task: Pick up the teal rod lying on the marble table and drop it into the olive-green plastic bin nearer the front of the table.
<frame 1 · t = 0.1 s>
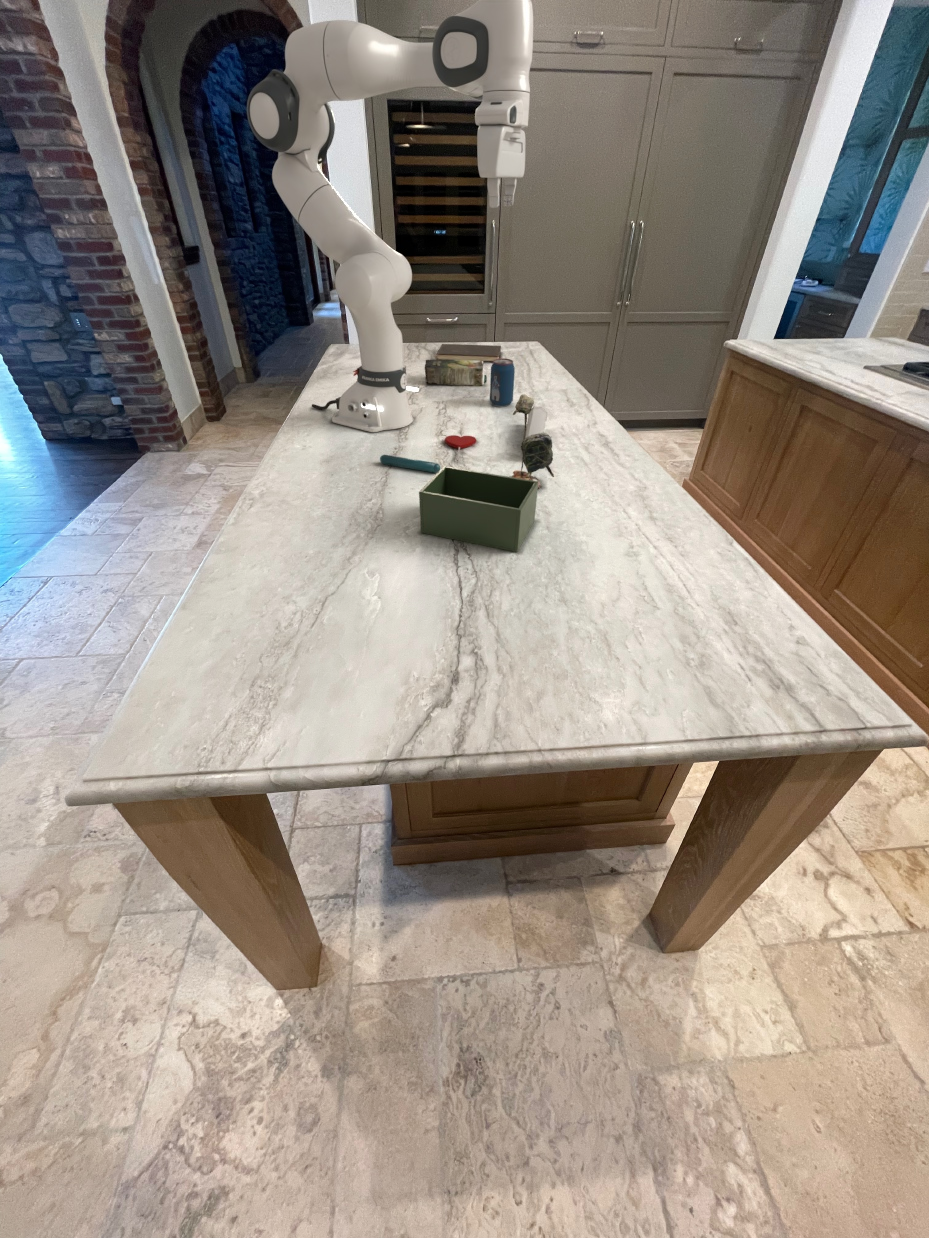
hand: (501, 207, 110), 48 cm above the table, tool pointing down, fingers open, 8 cm apart
teal rod: (410, 468, 125), on the table
hardcover book: (469, 356, 204), on the table
plant with pod: (526, 486, 119), on the table
soda can: (501, 404, 161), on the table
lollipop: (459, 450, 133), on the table
juice carton: (455, 382, 178), on the table
bin: (478, 527, 104), on the table
white square bar: (533, 443, 138), on the table
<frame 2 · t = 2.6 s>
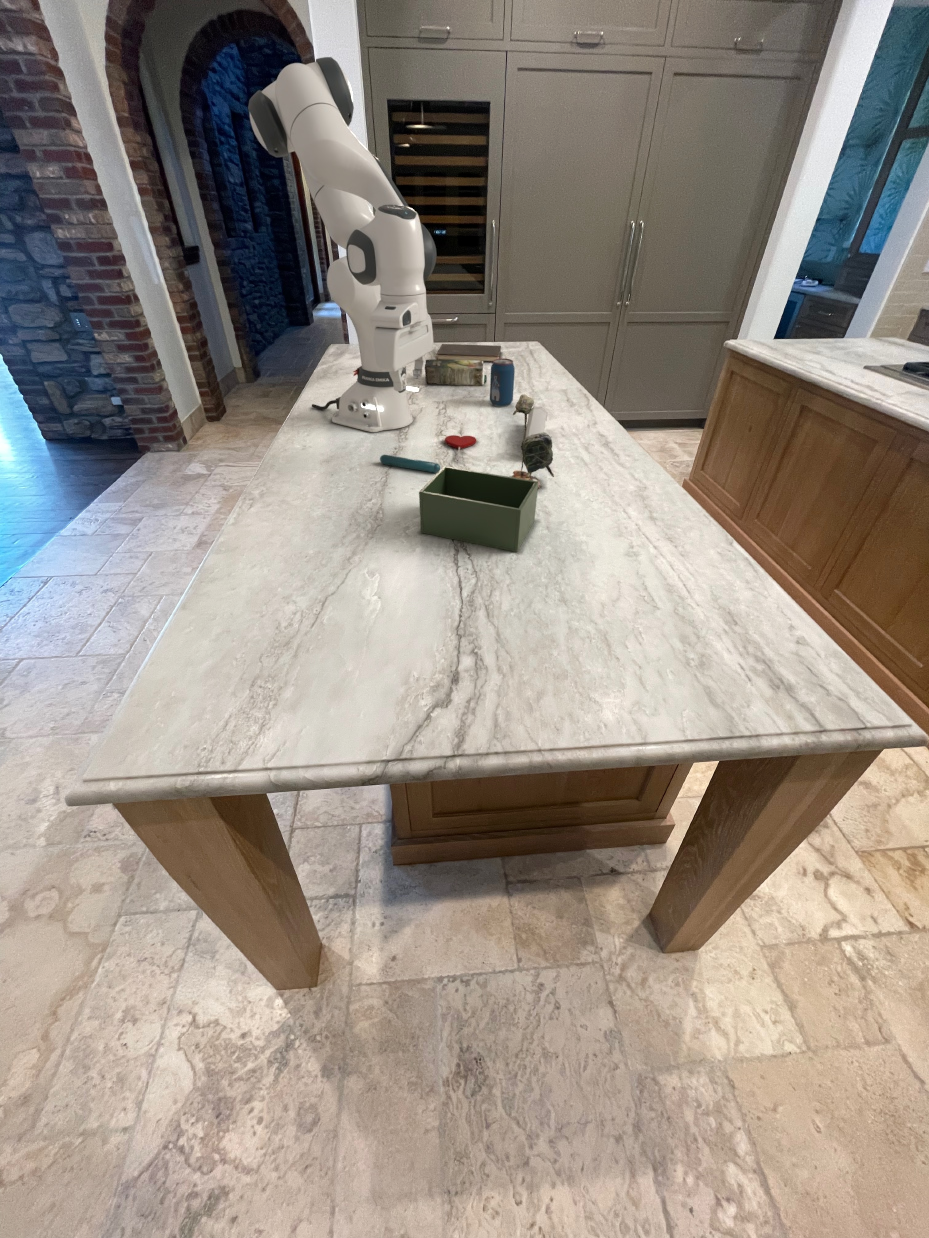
hand: (409, 384, 114), 19 cm above the table, tool pointing down, fingers open, 8 cm apart
nothing on the table moved.
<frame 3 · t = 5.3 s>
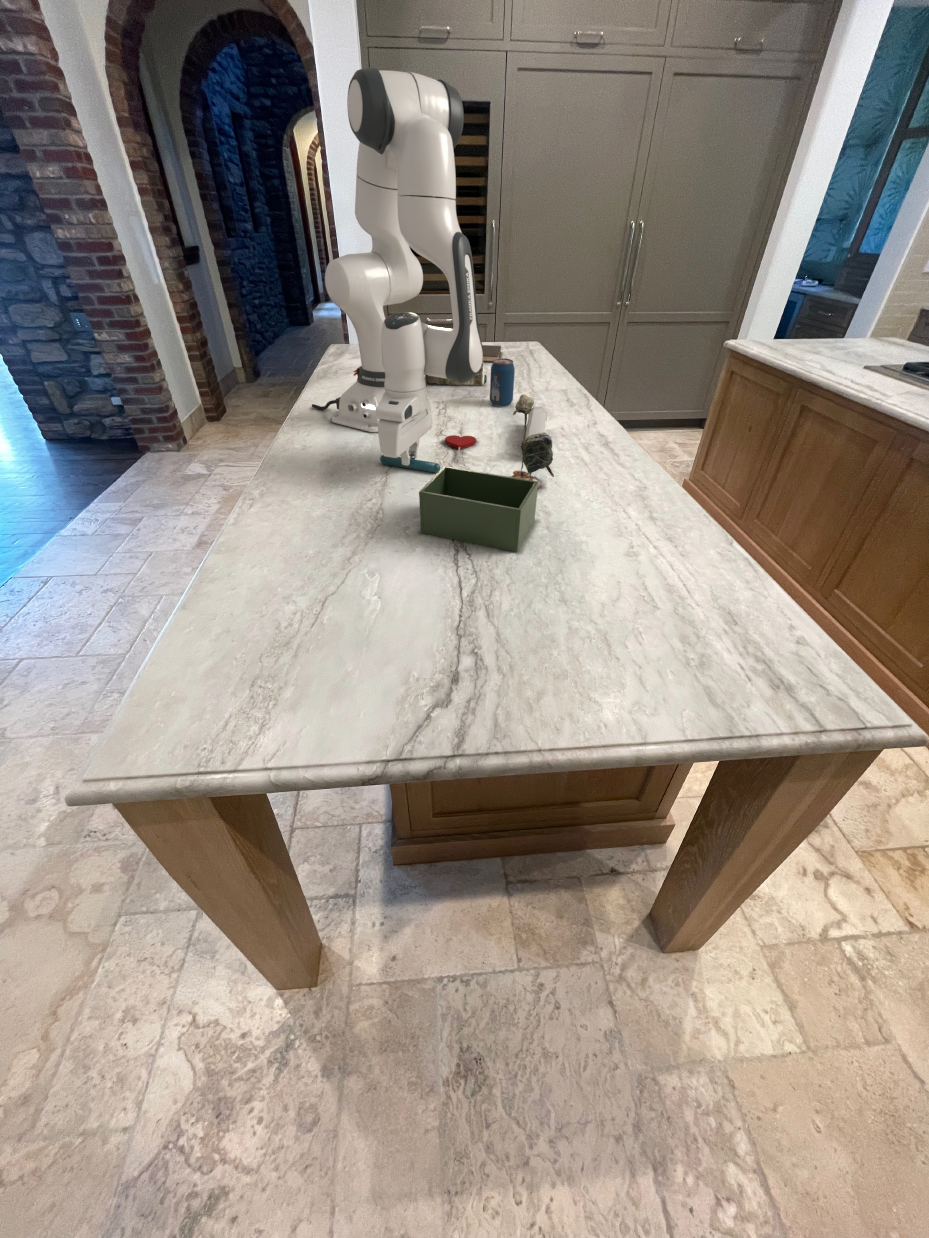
hand: (409, 461, 124), 2 cm above the table, tool pointing down, fingers closed on teal rod, 2 cm apart
teal rod: (410, 468, 125), on the table, touching gripper
everything else where it was.
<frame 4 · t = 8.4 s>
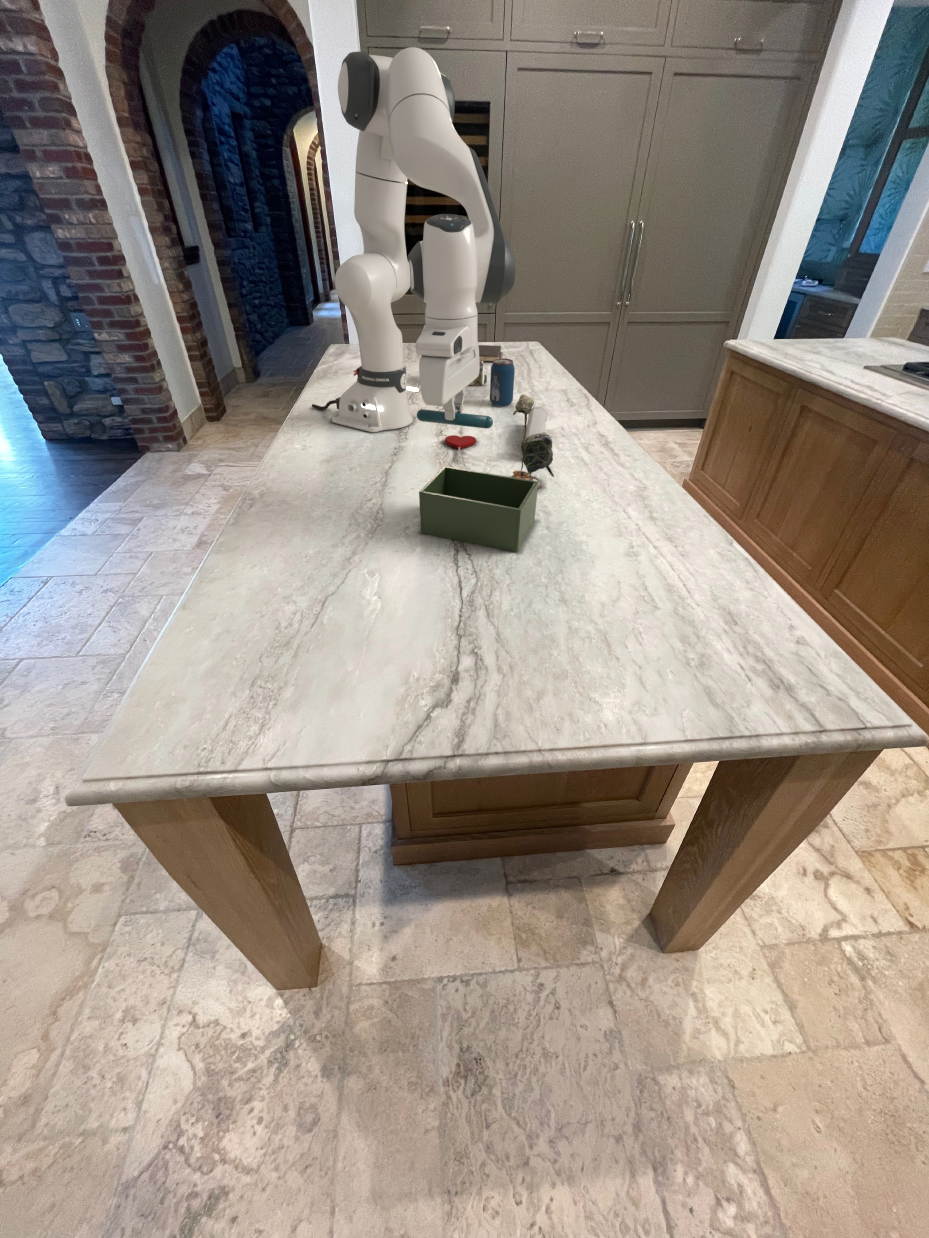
hand: (454, 416, 100), 18 cm above the table, tool pointing down, fingers closed on teal rod
teal rod: (454, 424, 101), point 16 cm above the table, touching gripper
everything else where it was.
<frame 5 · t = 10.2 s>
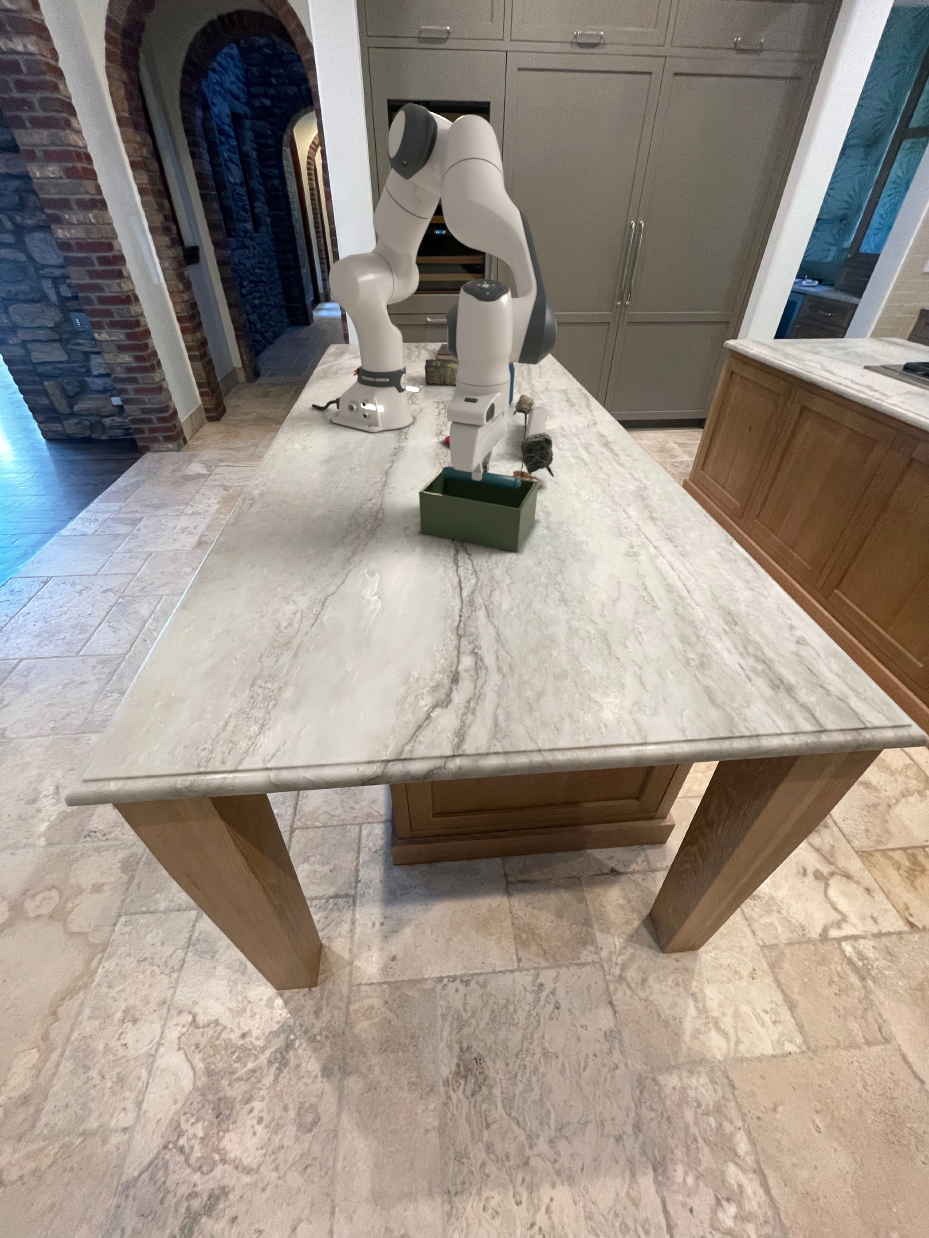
hand: (480, 475, 97), 11 cm above the table, tool pointing down, fingers closed on teal rod
teal rod: (480, 483, 99), point 9 cm above the table, touching gripper
everything else where it was.
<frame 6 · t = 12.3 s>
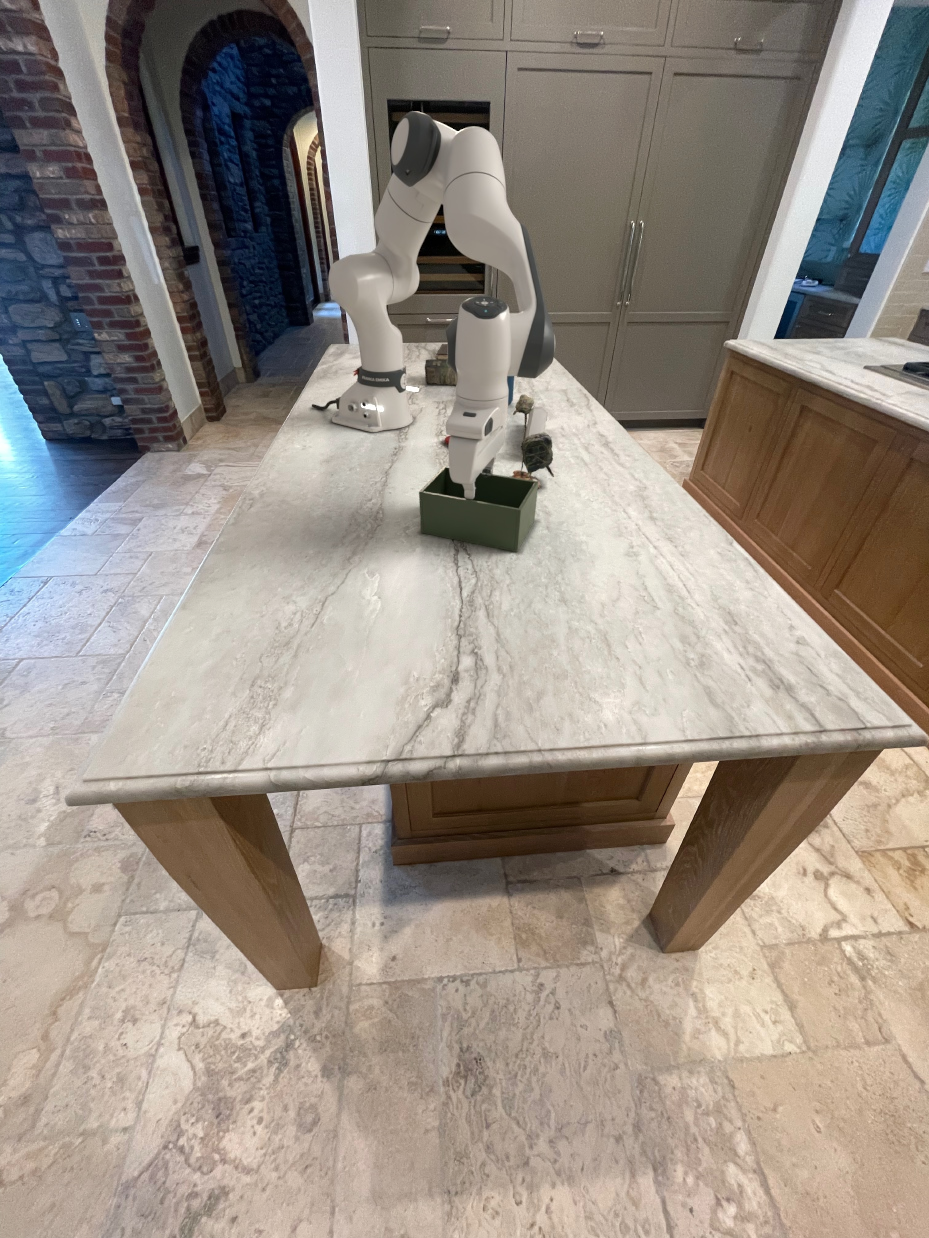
hand: (479, 486, 99), 8 cm above the table, tool pointing down, fingers open, 8 cm apart
teal rod: (478, 524, 104), point 1 cm above the table, tilted 10°, touching bin
everything else where it was.
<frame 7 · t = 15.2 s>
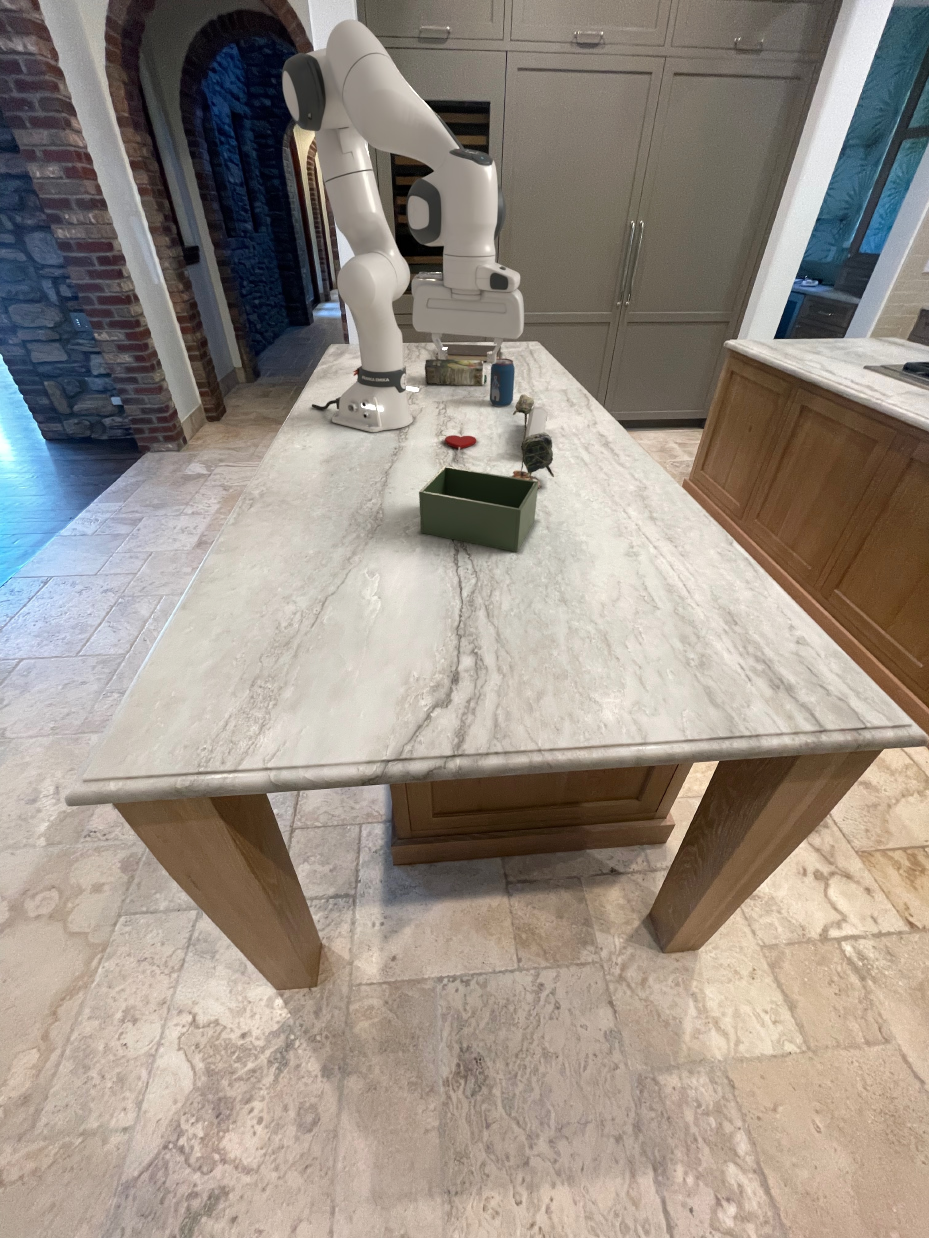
hand: (466, 360, 101), 26 cm above the table, tool pointing down, fingers open, 8 cm apart
teal rod: (478, 523, 104), point 1 cm above the table, tilted 38°, touching bin
everything else where it was.
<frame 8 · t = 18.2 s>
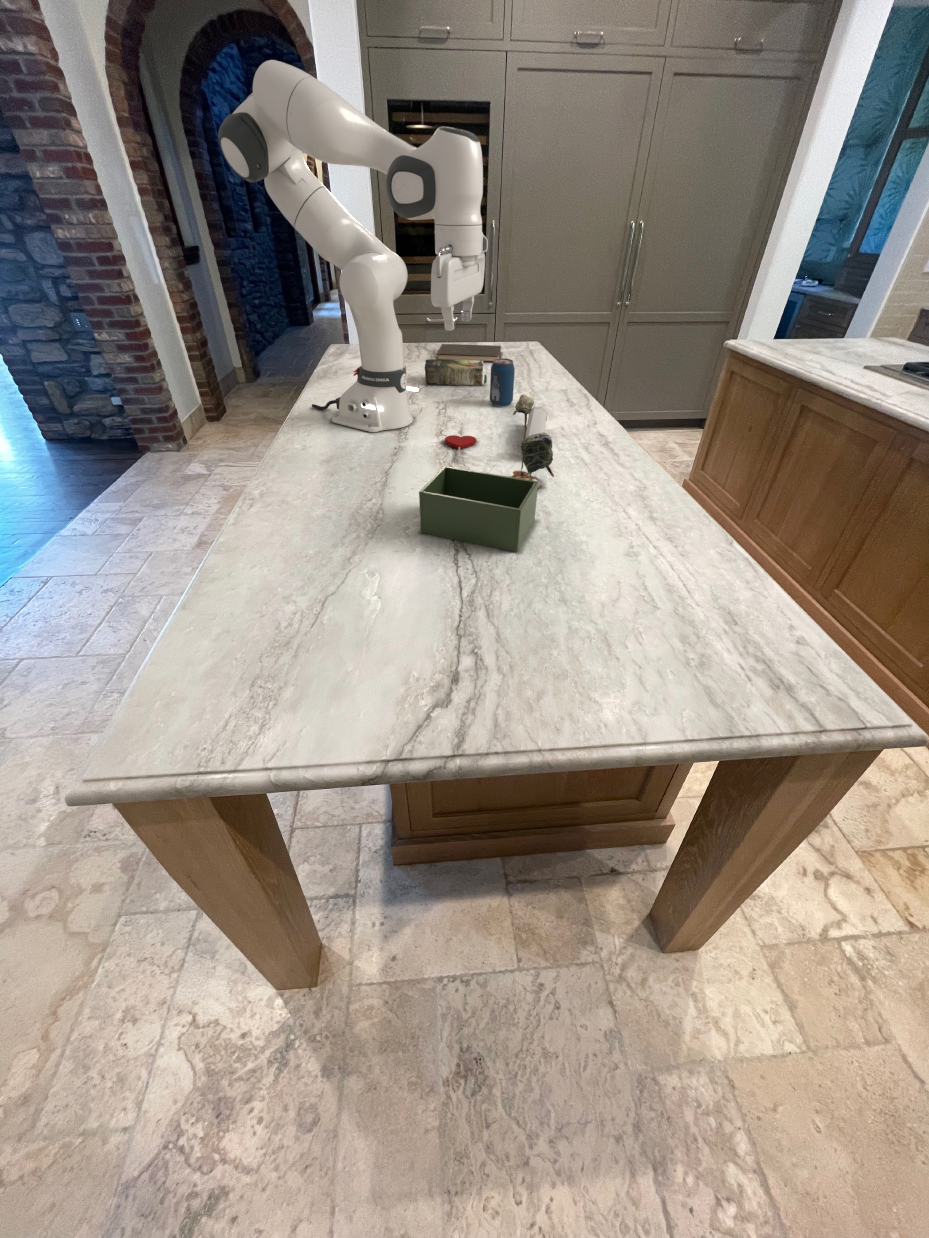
hand: (458, 325, 110), 29 cm above the table, tool pointing down, fingers open, 8 cm apart
teal rod: (478, 522, 103), point 1 cm above the table, tilted 66°, touching bin
everything else where it was.
at the end: teal rod inside the target area in the bin (0.2 cm from its centre), point 1.2 cm above the bin's base; the gripper is holding nothing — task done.
